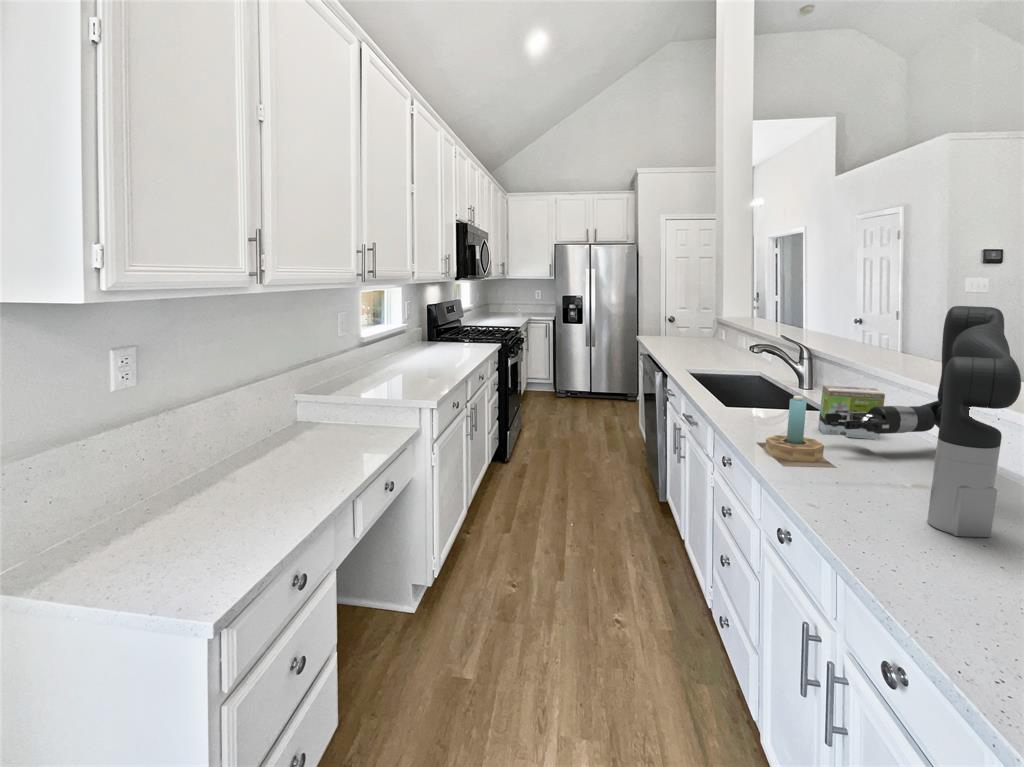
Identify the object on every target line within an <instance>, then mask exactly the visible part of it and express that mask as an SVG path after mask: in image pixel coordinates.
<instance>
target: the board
mask: <svg viewBox="0 0 1024 767" xmlns="http://www.w3.org/2000/svg"><path fill="white" fill-rule="evenodd" d="M755 444H757V445H758V446H759V447H760V448H761V449H762V450H764V451H765V448H766V442H758V441H757V442H755ZM767 454H768V455H770V454H769V453H767ZM772 458H773V459H774V460H775V461H777V462H778V463H779V464H780V465H781V466H782V467H793V468H794V467H795V468H797V467H798V468H828V469H829V468H832V469H833V468H834V469H837V468H838V466H836V465H834V464H833V463H831V462H830V461H829V460H827V459H826V458H824V457H823V458H821V459H819V460H817V461H814V462H806V461H789V460H785V459H781V458H777V457H772Z"/></svg>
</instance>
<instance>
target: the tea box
mask: <svg viewBox="0 0 1024 767" xmlns="http://www.w3.org/2000/svg"><path fill="white" fill-rule="evenodd" d="M821 390H822V391H821V400H820V407H819V418H818V430H819V431H820V432H821V433H822V434H823V435H825V436H826V435H827V436H844V437H845V438H855V439H865V440H866V439H867V440H874V439H878V440H880V437H881V436H880V435H881V434H876V433H874V432H868V431H867V430H860V428H859V429H845V428H844V425H845V422H838V421H831V422H827V421H825V420H824V419H825V414H826V413H835V412H836V411H837V410H838V411H853V410H856V411H857V412H867V413H868V412H869V410H870V409H871V408H873V407H875V406H885V398H886V394H885V393H884V392H882V391H880V390H878V389H877V388H874V387H859V386H844V385H843V386H839V385H823V386H822V389H821ZM842 417H843V415H842Z"/></svg>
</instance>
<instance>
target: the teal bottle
mask: <svg viewBox="0 0 1024 767" xmlns="http://www.w3.org/2000/svg"><path fill="white" fill-rule="evenodd" d="M807 402H808V400H806V399H804V396H802V395H793V397H792V398H790V399H789V408H788V417H787V418H788V420H787V421H788V422H787V430H786V431H787V433H786V435H787V442H786V443H789V444H796V445H803V438H804V437H805V436H804V435H805V426H806V425H805V424H806V413H807V412H806V411H807Z"/></svg>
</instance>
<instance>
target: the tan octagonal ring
mask: <svg viewBox="0 0 1024 767" xmlns="http://www.w3.org/2000/svg"><path fill="white" fill-rule="evenodd" d="M786 442H787V434H786V435H785V434H783V435H781V434H774V435H772V436H769V437H766V440H765V443H766V448H765V450H764V451H765V452H766V453H767V454H768V453H769V454H768V455H770V456H771V457H772V458H773V457H777V458H781V459H785V460H789V461H806V462H814V461H817V460H819V459H821V458H824V451H825V450H824V449H825V444H823V443H822V442H820V441H819V440H817V439H815V438H809V437H806V436H804V438H803V445H796V444H789V443H786Z"/></svg>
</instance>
